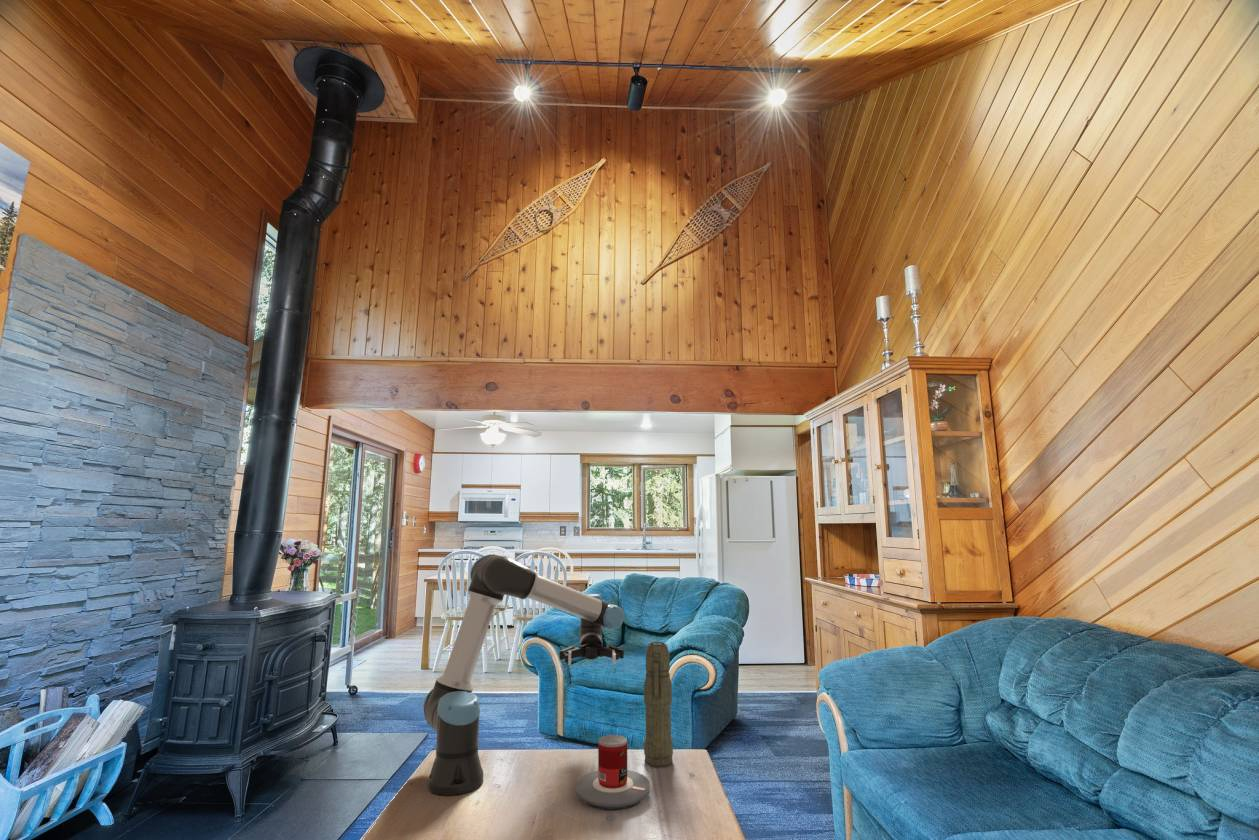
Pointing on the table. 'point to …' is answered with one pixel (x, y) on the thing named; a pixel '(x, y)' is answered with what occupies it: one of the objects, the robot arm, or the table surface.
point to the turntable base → (612, 807)
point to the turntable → (613, 790)
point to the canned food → (612, 761)
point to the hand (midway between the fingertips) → (592, 660)
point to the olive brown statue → (658, 706)
